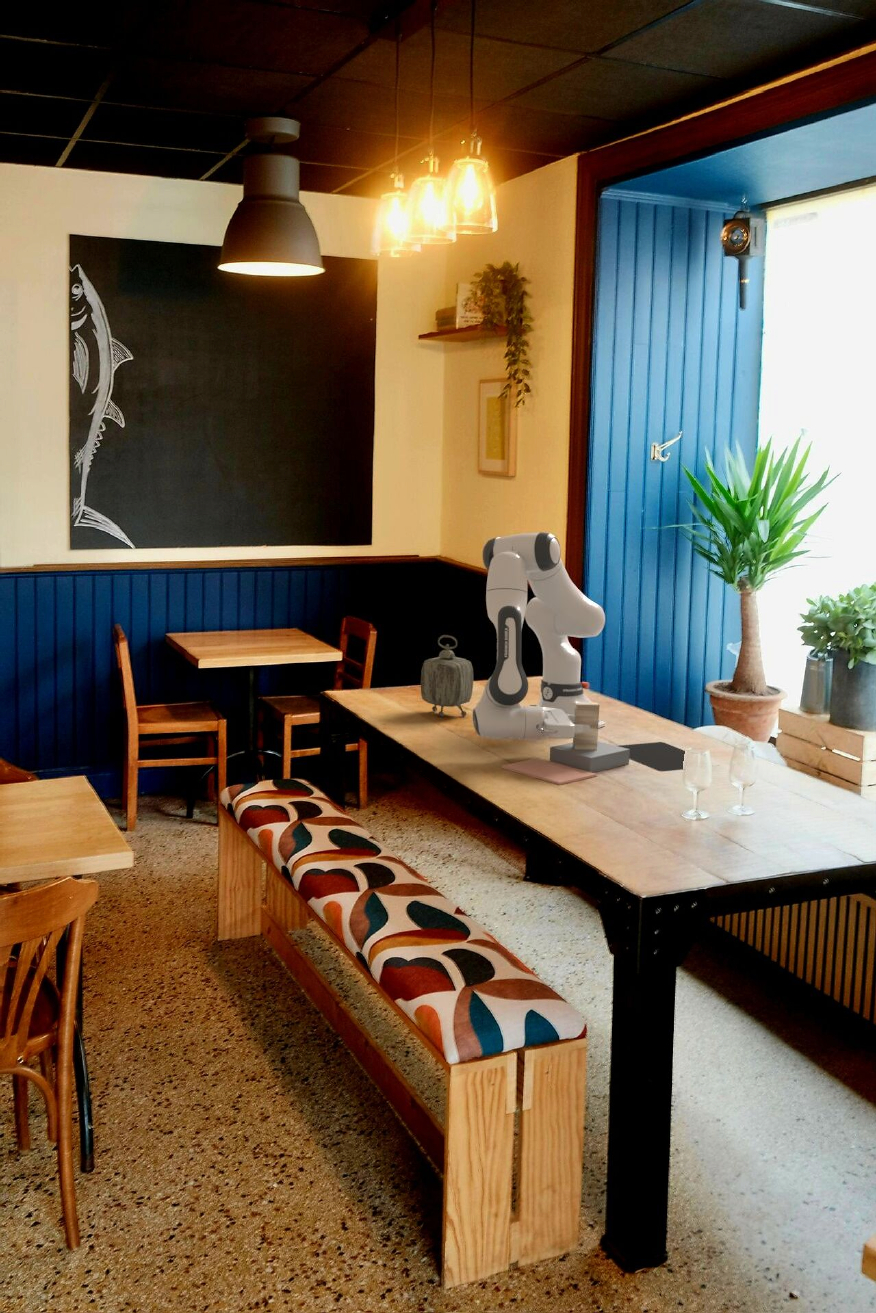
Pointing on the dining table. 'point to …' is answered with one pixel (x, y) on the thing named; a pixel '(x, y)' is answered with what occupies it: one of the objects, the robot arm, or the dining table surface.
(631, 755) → the tablet
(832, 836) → the dining table surface
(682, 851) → the dining table surface
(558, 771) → the terracotta mat
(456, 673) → the tabletop clock
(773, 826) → the dining table surface
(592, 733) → the birch plaque
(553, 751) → the block
